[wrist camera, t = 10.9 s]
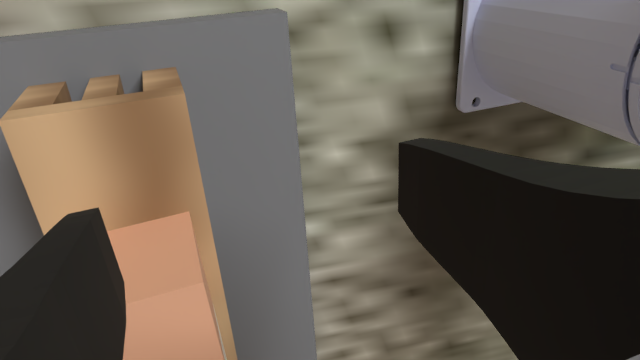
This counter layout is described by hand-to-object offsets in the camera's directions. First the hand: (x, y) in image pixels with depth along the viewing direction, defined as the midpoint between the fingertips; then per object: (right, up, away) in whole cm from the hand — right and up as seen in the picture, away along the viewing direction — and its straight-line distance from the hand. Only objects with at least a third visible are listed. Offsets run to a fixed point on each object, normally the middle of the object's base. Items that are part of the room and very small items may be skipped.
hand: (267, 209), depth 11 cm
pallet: (-6, -4, +10) cm, 12 cm away
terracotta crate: (-5, -3, +5) cm, 7 cm away
